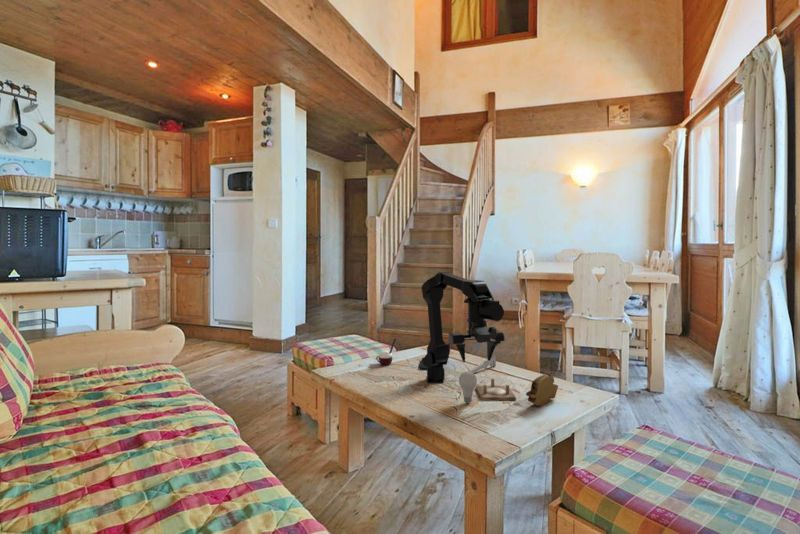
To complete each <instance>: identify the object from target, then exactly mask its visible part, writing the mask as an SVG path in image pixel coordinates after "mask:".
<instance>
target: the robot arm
mask: <svg viewBox="0 0 800 534" xmlns="http://www.w3.org/2000/svg"><path fill="white" fill-rule="evenodd" d="M448 286H449V287H452V288H454V289H456V290H459V291H461V293H462V294H463V296H466V297H467V298H466V299H464V301H463V303H465V304H467V316H468V317H467V318H466V321H467V331H466V332H467V334H464V333H461V332H459V331H458V332H456V331H455V332H449V334H448V341H449V343H452V344H453V345H454V346H456V348H457V350H458V352H459V356H460V357H461V360H462V362H463V363H465V362H466V353H465V352H466V351H465V347H466V343H464V342H465V341H474V340H476V342H477V343H479V344H482V343H486V348H487V349H486V351H487V353H486V355H487V359H488V360H489V361H490V359H491V357H492V354H494V351H495V349H496V347H497V346H498V345H500V344H501V343H502V342H505V339H506V337H505V333H504V332H502V331H500V330H498V329H497V328H496V327H495V326H490V327H488V326H487V320H489V321H492V322H493V321H494V322H500V321H501V320H502V319H503V317H504V314H505V310H504V308H503V306H502V304H500V300H499V299H498V300H497V299H494V297H493V295H492V294H493V293H492V292H491V290H490V288H489V287H488V284H487V282H486V281H485V280H479V279H478V280H477V279H468V278H464V277H461V276H458V275H455V274H453V273H451V272H449V271H440V272H437V273H436V274H435V275H434V276H431V277H430V278H429V279H427V280H426V281H425V282H423V284H422V285H421V295H422V299H423V300H424V302H425V303H426V304H427V313H428V314H427V316H428V325H429V326H428V327H429V339H430V340H429V343H428V344H427V346H426V347H427V348H426V355H425V356H424V357H422V358H423V360H422V359H421V360H422V362H423V366H426V367H427V370H426V383H440V384H441V383H444V382H445V381H444V380H445V377H446V376H445V374H446V373H445V367H444V366H445V365H447V364H448V361H449V358H450V355H451V354H450V353H451V352H450V353H449V345H448V344H449V343H446V341H444V338H443V337H444V334H443V325H442V323H443V321H442V311H441V309H442V308H441V303H442V300H443V298H444V291H445V290H446V288H448Z"/></svg>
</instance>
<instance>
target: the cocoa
mask: <svg viewBox="0 0 800 534" xmlns="http://www.w3.org/2000/svg"><path fill="white" fill-rule="evenodd" d="M396 340H397V338H394V339H393V342H392V344H391V347H390V350H389V351H388V350H386V349H385V350H383V351H381V352H379V353H378V356H376V357H375V360H376V361H377V362H378V363H379V364H381V366H390V365H391V364H392V362H393V353H392V352H393V349H394V345H395V343H396Z"/></svg>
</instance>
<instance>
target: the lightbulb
mask: <svg viewBox="0 0 800 534" xmlns="http://www.w3.org/2000/svg"><path fill="white" fill-rule="evenodd" d="M469 371H470V370H467V371H463V372H461V374H460V375H459V377H458V384H459V387H460V388H461V389H462V396H463V401H464V403H466V404H467V405H468V404H471V403H472V400H473V399H472V397H473V395H474V394H473V392H474V389H476V386H477V383H478V379H477V376H476V375H475V373H474V374H473V373H472V372H469Z"/></svg>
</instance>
